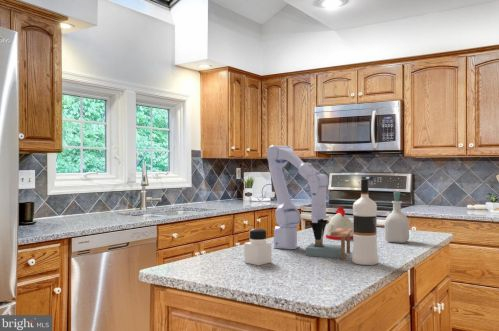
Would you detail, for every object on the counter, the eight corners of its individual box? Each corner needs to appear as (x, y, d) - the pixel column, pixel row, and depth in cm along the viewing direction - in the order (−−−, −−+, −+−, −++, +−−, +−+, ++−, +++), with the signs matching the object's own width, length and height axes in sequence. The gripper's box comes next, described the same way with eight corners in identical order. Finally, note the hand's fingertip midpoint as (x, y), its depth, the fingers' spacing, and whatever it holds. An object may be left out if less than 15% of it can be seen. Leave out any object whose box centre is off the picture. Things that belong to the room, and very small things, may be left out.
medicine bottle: (271, 262, 156) (271, 229, 156) (258, 265, 150) (258, 231, 150) (257, 259, 161) (257, 227, 161) (243, 262, 155) (243, 229, 155)
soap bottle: (406, 244, 190) (405, 192, 190) (383, 242, 195) (383, 191, 195) (409, 240, 198) (409, 191, 198) (388, 239, 203) (388, 190, 203)
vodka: (349, 260, 159) (348, 178, 159) (374, 260, 159) (374, 178, 159) (355, 266, 149) (354, 179, 149) (381, 265, 149) (381, 179, 149)
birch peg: (314, 245, 169) (314, 225, 169) (315, 244, 172) (315, 224, 172) (322, 246, 169) (322, 225, 169) (323, 244, 171) (323, 224, 171)
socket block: (305, 255, 167) (305, 247, 167) (312, 250, 177) (312, 243, 177) (339, 257, 162) (339, 250, 162) (344, 252, 172) (344, 245, 172)
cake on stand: (333, 240, 200) (332, 208, 200) (321, 236, 213) (321, 205, 213) (360, 239, 203) (360, 207, 203) (347, 234, 216) (347, 205, 216)
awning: (330, 258, 162) (330, 233, 162) (337, 251, 175) (337, 227, 175) (346, 259, 159) (346, 233, 159) (352, 252, 172) (352, 228, 172)
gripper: (324, 206, 162) (325, 242, 162) (332, 203, 176) (332, 236, 176) (306, 205, 165) (306, 241, 165) (315, 202, 178) (315, 235, 178)
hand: (318, 238), depth 170 cm, fingers closed on birch peg, 3 cm apart
